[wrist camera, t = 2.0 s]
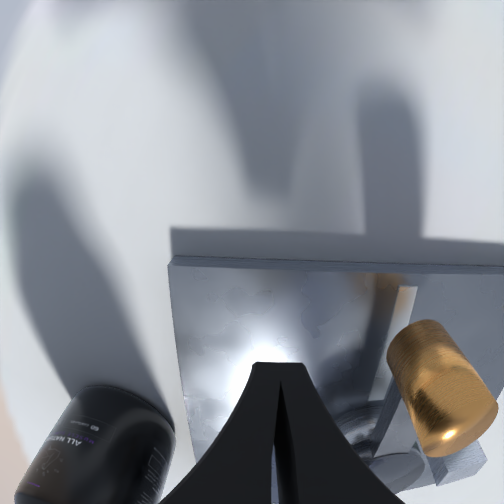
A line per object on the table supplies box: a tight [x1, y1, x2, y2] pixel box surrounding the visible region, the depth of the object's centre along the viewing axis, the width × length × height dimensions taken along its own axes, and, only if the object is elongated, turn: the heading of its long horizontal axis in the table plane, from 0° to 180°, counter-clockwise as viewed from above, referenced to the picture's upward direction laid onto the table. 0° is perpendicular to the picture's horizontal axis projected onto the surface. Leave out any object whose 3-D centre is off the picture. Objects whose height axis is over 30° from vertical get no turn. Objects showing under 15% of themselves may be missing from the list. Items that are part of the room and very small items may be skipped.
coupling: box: [352, 319, 498, 494], centre depth 9 cm, size 11×5×4 cm, turn 179°
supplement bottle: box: [14, 386, 176, 504], centre depth 11 cm, size 7×7×12 cm
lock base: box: [167, 256, 504, 503], centre depth 13 cm, size 18×18×4 cm
